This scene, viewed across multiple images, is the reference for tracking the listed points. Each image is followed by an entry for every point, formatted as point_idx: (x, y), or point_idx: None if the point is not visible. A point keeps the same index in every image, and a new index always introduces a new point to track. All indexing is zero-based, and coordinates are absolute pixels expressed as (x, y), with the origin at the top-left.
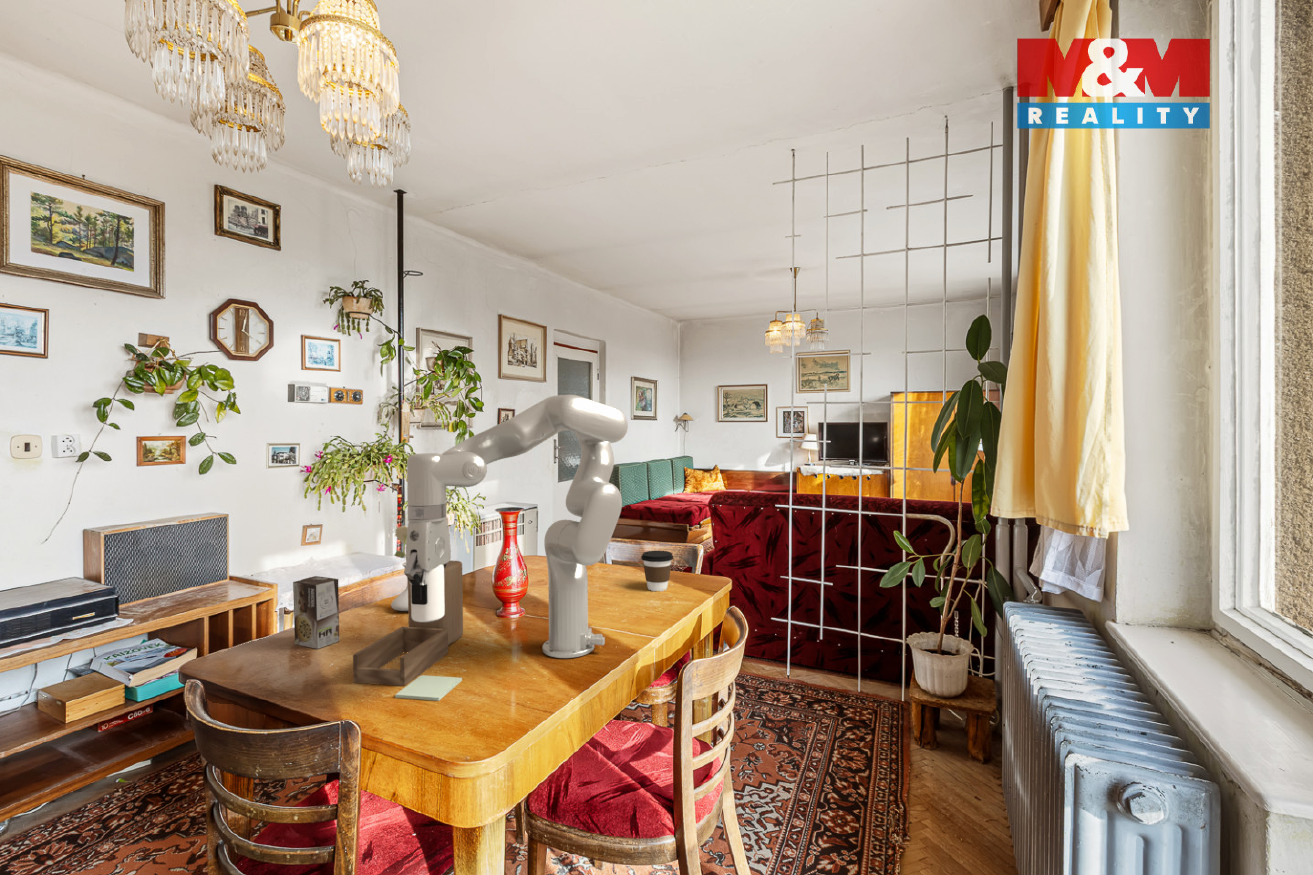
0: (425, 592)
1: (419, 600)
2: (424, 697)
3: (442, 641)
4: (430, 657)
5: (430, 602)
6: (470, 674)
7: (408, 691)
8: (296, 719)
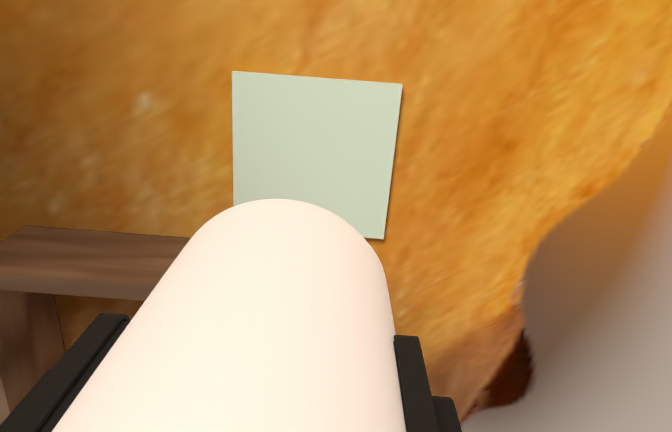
0: (434, 419)
1: (448, 400)
2: (395, 138)
3: (28, 255)
4: (132, 248)
5: (376, 316)
6: (176, 60)
7: (358, 210)
8: (507, 402)
